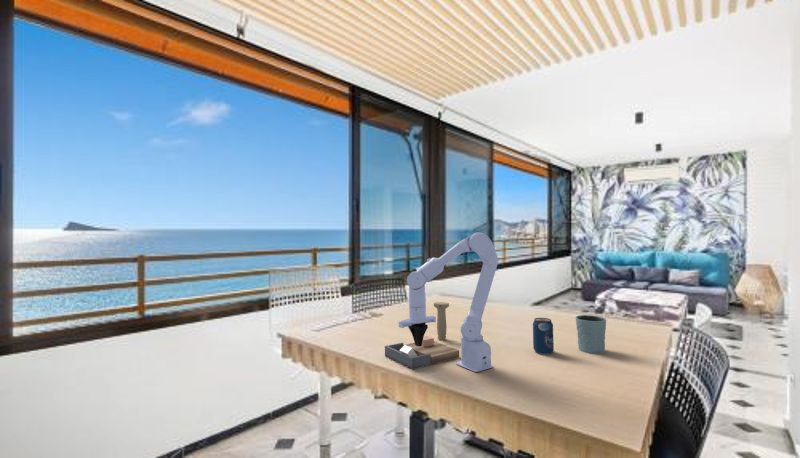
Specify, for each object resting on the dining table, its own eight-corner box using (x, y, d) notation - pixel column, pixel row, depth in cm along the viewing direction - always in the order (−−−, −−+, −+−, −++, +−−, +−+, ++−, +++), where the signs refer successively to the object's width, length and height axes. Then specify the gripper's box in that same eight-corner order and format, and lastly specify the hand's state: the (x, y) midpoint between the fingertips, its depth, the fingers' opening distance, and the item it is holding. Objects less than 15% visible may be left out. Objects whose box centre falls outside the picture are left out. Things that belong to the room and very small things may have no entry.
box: (431, 364, 121) (431, 354, 121) (412, 369, 117) (411, 358, 117) (403, 351, 135) (403, 342, 136) (384, 355, 131) (384, 346, 131)
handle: (448, 341, 148) (447, 304, 149) (433, 340, 150) (432, 303, 151) (450, 338, 153) (450, 302, 153) (435, 337, 155) (435, 301, 155)
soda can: (550, 356, 128) (550, 322, 128) (530, 352, 132) (530, 319, 132) (556, 351, 133) (555, 318, 134) (536, 348, 138) (535, 316, 138)
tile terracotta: (433, 345, 135) (433, 338, 135) (424, 347, 132) (424, 340, 133) (426, 342, 139) (426, 335, 139) (417, 344, 136) (416, 337, 136)
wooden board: (459, 357, 128) (459, 350, 128) (431, 364, 121) (431, 357, 121) (429, 345, 142) (429, 339, 142) (403, 351, 135) (403, 345, 136)
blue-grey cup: (599, 346, 139) (598, 315, 139) (612, 355, 129) (611, 321, 129) (572, 346, 140) (571, 314, 140) (582, 354, 130) (581, 320, 130)
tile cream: (412, 348, 121) (407, 353, 120) (418, 357, 122) (413, 363, 121) (404, 344, 125) (399, 350, 123) (410, 354, 126) (406, 359, 125)
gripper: (427, 302, 133) (427, 339, 132) (393, 306, 125) (394, 346, 124) (439, 304, 127) (440, 343, 127) (405, 309, 119) (406, 351, 119)
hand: (418, 345), depth 125 cm, fingers closed
